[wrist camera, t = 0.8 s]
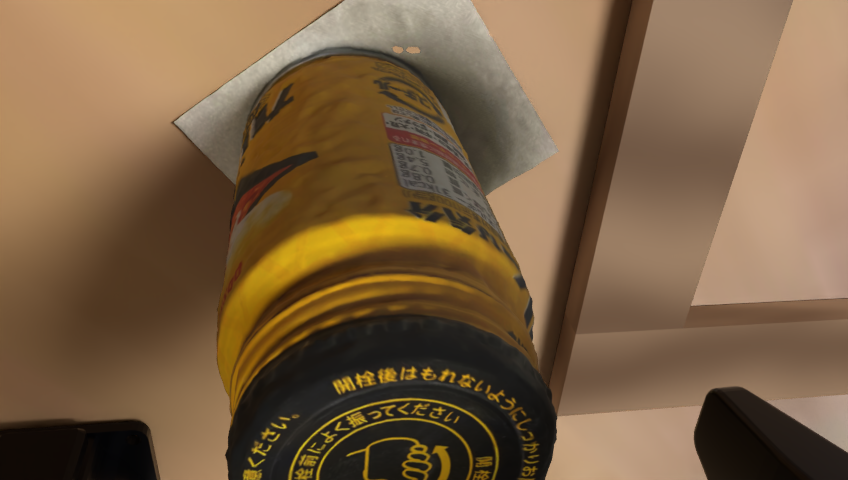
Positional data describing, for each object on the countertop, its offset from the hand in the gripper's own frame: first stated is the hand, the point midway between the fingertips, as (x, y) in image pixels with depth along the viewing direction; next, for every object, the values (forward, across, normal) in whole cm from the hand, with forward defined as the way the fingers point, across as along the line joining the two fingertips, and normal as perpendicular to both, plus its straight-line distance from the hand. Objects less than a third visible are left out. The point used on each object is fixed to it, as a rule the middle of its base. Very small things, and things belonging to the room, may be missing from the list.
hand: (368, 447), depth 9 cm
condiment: (+13, -2, +2) cm, 13 cm away
